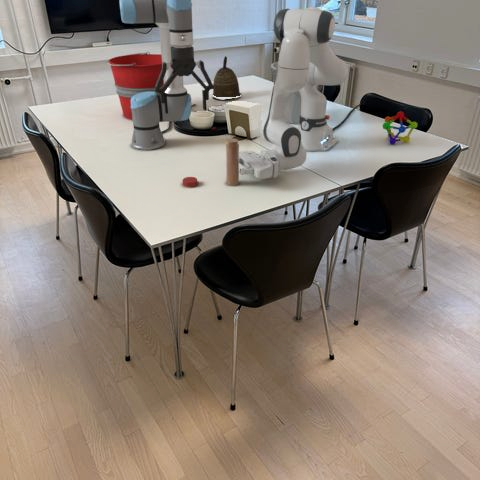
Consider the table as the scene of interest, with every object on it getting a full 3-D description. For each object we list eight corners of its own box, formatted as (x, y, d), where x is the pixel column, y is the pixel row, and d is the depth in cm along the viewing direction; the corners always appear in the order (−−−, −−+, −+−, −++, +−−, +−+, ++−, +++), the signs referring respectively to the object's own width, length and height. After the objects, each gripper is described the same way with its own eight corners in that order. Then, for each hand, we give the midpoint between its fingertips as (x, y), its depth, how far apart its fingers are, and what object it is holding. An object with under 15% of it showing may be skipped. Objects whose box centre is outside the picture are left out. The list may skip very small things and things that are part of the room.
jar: (241, 184, 171) (241, 141, 161) (230, 186, 168) (230, 143, 159) (234, 179, 174) (234, 137, 165) (224, 182, 172) (223, 139, 163)
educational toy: (377, 146, 209) (379, 114, 202) (384, 138, 219) (386, 107, 211) (411, 149, 202) (415, 116, 195) (417, 141, 212) (420, 109, 204)
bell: (227, 105, 294) (202, 96, 282) (238, 66, 289) (213, 55, 277) (243, 108, 280) (217, 98, 268) (255, 66, 275) (229, 55, 263)
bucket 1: (122, 105, 264) (115, 51, 248) (181, 105, 263) (177, 51, 248) (106, 122, 235) (96, 62, 219) (171, 123, 234) (167, 63, 218)
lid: (181, 182, 172) (181, 177, 171) (195, 180, 173) (195, 175, 172) (184, 188, 167) (184, 183, 166) (199, 186, 169) (199, 181, 168)
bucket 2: (296, 131, 225) (301, 73, 210) (257, 117, 244) (258, 64, 229) (334, 119, 242) (340, 65, 227) (294, 108, 260) (297, 57, 246)
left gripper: (144, 49, 138) (151, 116, 150) (221, 46, 144) (222, 111, 156) (142, 45, 145) (148, 110, 156) (216, 42, 150) (217, 105, 162)
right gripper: (256, 145, 180) (224, 150, 175) (280, 163, 164) (246, 169, 159) (255, 160, 183) (224, 165, 178) (279, 178, 167) (246, 185, 162)
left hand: (185, 111), depth 156 cm, fingers open, 13 cm apart
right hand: (235, 167), depth 169 cm, fingers open, 8 cm apart
